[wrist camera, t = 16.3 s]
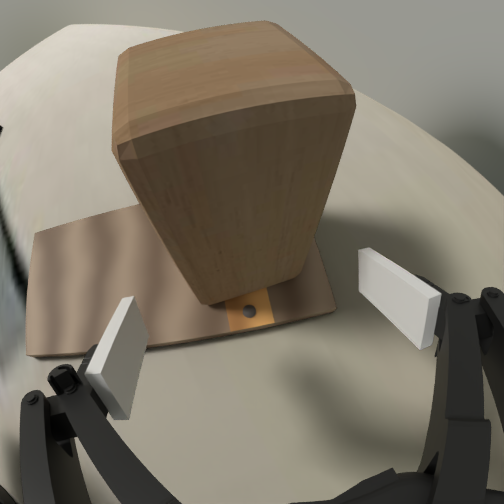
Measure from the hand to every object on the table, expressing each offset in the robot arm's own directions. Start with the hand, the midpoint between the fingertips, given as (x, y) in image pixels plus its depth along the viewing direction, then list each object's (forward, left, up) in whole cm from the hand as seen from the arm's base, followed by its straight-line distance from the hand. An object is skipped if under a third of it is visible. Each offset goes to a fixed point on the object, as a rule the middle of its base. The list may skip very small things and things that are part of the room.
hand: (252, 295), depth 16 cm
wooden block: (0, +8, -10) cm, 13 cm away
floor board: (-9, +8, -12) cm, 17 cm away
